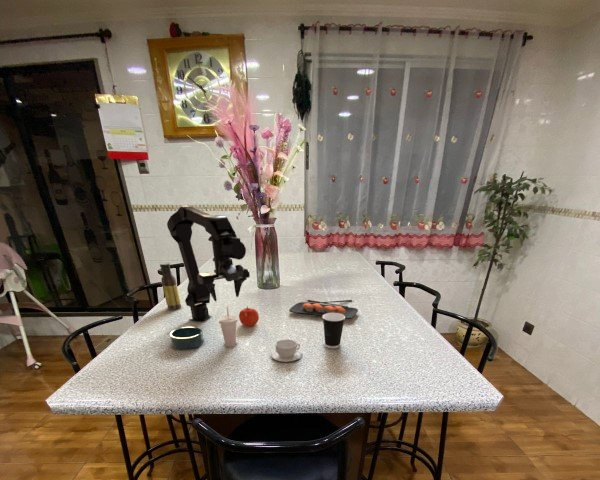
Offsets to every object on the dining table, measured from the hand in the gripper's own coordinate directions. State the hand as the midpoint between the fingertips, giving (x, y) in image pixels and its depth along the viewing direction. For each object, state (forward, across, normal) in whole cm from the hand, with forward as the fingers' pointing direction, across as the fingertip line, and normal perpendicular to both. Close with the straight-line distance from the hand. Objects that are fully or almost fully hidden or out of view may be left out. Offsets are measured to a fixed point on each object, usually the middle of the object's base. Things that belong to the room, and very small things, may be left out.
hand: (226, 298), depth 137 cm
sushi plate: (+12, +49, -4) cm, 50 cm away
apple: (+13, +9, 0) cm, 15 cm away
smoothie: (+12, -7, -14) cm, 20 cm away
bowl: (+12, -19, -4) cm, 23 cm away
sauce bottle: (+13, -8, +41) cm, 44 cm away
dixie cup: (+12, +22, -37) cm, 45 cm away
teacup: (+12, +4, -34) cm, 37 cm away
